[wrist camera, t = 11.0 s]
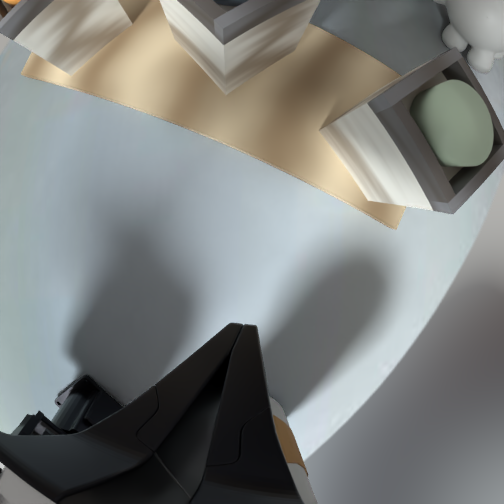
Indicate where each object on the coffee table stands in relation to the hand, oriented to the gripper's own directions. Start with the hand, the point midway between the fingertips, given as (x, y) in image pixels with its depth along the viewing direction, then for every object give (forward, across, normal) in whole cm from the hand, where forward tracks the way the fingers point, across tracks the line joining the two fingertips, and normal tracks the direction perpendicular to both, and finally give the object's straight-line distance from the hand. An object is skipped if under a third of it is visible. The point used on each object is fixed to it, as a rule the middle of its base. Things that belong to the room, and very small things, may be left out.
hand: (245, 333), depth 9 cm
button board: (+16, +4, -10) cm, 19 cm away
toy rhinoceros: (+24, -15, -16) cm, 33 cm away
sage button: (+8, -8, -6) cm, 13 cm away
